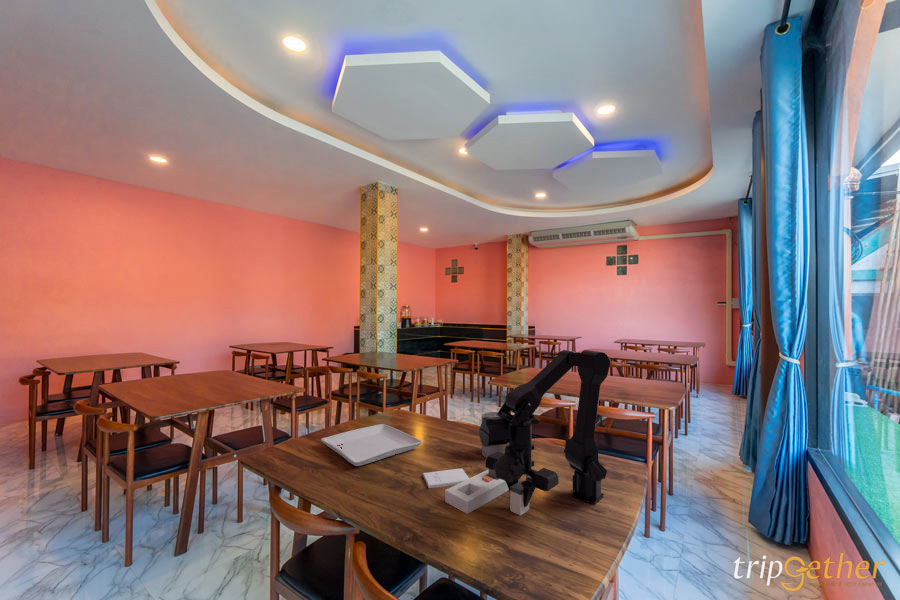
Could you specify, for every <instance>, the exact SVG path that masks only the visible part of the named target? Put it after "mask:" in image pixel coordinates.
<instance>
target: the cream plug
mask: <svg viewBox="0 0 900 600" xmlns="http://www.w3.org/2000/svg"><path fill="white" fill-rule="evenodd" d="M522 482H523V481H518V483H516V484H514V485H513V486H511V487H510V492H509V495H510V496H509V497H510V502H509V504H510V507H509V509H510V511H511V512H513V513H514V514H516V515H518V516H522V515H524V514H525V513H526V512H528V511H530V502H529V503H528V506H527V507H524V503H523V490H524V488H523V486H522V485H521V483H522Z"/></svg>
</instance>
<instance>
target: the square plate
mask: <svg viewBox="0 0 900 600" xmlns="http://www.w3.org/2000/svg"><path fill="white" fill-rule="evenodd" d="M320 440H321V442H323V444H324V445H325V446H327V447H328V448H330V449H331V450H333V451H334V452H335V453H336V454H338V455H340V456H341V457H343V458H344V459H345V460H346V461H347V462H349V463H350V464H351V465H353V466H355V467H361V466H363V465H367V464H370V463H374V462H377V461H379V460H383V459H385V458H388V457H391V456H392V457H393V456H395V454H396V455H398V454H402V453H405V452H408V451H412V450H414V449H416V448H417V447H419V446H420V445H421V444H423V440H421V439H418V438H417V437H415V436H412V435H411V434H408V433H406V432H404V431H402V430H400V429H397V428H396V427H393V426H390V425H388V424H386V423H381V424H380V423H379V424H375V425H370V426H366V427H360V428H357V429H353V430H349V431H345V432H341V433H337V434H336V433H335V434H333V435H330V436H326V437H322V438H320ZM341 444H343V445H341ZM337 445H340V446H337ZM340 447H342V449H341V448H340Z"/></svg>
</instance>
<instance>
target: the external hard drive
mask: <svg viewBox="0 0 900 600" xmlns="http://www.w3.org/2000/svg"><path fill="white" fill-rule="evenodd" d="M422 476H423V479H424V481H425V483H426V485H427V487H428V489H434V488H441V487H442V488H443V487H450V486H451V487H452V486H455V485H457V484H459V483H461V482H463V481H465V480H467V479H469V478H470V477H469V476H468V475H467V473H466V472H465V470H464V469H463V468H454V469H453V468H452V469H445V470H438V471H430V472H423V473H422Z"/></svg>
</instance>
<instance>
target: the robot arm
mask: <svg viewBox="0 0 900 600" xmlns="http://www.w3.org/2000/svg"><path fill="white" fill-rule="evenodd" d="M573 367H577V368H576V369H577V370H576V371H577V374H578V375H579V380H580V381H581V382H580V389H579V397H578V405H577V412H576V413H577V414H576V419H575V420H576V421H575V428H574V429H575V430H574V433H573V434H572V436H571V437H570V438H568V437H566V438H565V442H564V444H565V446H564V449H563V454H564V456H565V457H564V458H565V459H566V461H567V463H568V464H569V467H570V468H571V469H572V470H574V471H573V475H572V492H571V494H570V495H571V496H572V497H574V498H576V499H579V500H581V501H584V502H586V503H589V504H591V505H596V503H598V502H599V501H600V500H601V499H603V498H604V497H605V494H604V493H603V492H602V480H604V479H606V477H607V474H608V470H607V469H606V468H605V467H604V466H603V464H602V463H600V461H599V449H598V447H597V443H596V440H595V432H596V423H597V415H598V414H597V413H598V408H599V399H600V391H601V385H602V383H603V382H604V381H605V380H606V378H607V377H608V375H609V371H610V368H611V358H610V357H609V356H608V355H607V353H605V352H602V351H597V350H596V351H595V350H589V349H584V350H582V351H581V352H577V351H573V350H569V349H568V350H566V349H564V350H563V349H562V350H560V351H559V352H558V354H557V355H556V356H555V357H554V358H553V359H552V360H551V361H550V362H549V363H547V365H546V366H545V367H544V368H542V369H541V370H540V371H539V372H538V373H537V374H535V376H534V377H532V379H530V381H528V382H525V383H523V384H520V385H518V386H516V387H515V388H513V389H512V390H510V391H508V392H507V394H506V396H505V400H504V402H503V404H502V405H501V407H500V409H499V410H498V411H497V412H498V413H497V416H499V417H484V418H483V423H482V422H481V423H480V427H479V428H478V434H479V435H478V436H479V439H480V443H481V446H482V445H483V446H484V447H489V446H497V445H504V444H507V443H508V442H509V445H507V446H506V448H505V453H504V454H503V453H501V452H496V453H493V454H491V455H489V456H487V458H485V461H484V462H485V463H484V465H485V466H484V467H485V468H486V469H491V470H494V471H495V475H496V478H498V479H502V480H504V481H505V482H506V484H507V486H508V489H509V490H508V491H509V492H508V493H510V487H511V486H513V485H514V484H516V483H518V482H519V481H520V479H521V478H522V476H525V480H524V481H521V482H522V483H521V485H522V486H523V488H524V490H523V503H524V507H527V506H528V503H529V504H530V501H531V499H532V497H533V494H534V493H535V490H536V489H538V490H541V491H542V492H543V491H544V492H549V491H550V490H552V489H553V488H555V487H556V486H558V485H559V484H560V483H559V481H560V479H559V475H558V473H557V472H556V471H553V470H551V469H549V468H545V467H542V468H541V469H539V470H538V469H534V468H533V469H532V467H535V461H534V460H532V451H534V450H535V445H534V444H532V425H539V423H540V421H539V420H538V419H537V418H536V417H535V415H534V413H535V412H536V411H537V409H539V407H540V405H541V403H542V400H543V399H542V398H543V397H544V395H545V394H546V393H547V392H548V391H549V390H551V388H553V386H555V384H556V383H558V382H559V380H561V379H562V378H563V377H564V376H565V375H566V374H567V373H568V372H569V371H570V370H571V369H572V368H573ZM510 412H511V413H510ZM512 413H513V414H514V415H513V414H512Z"/></svg>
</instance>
